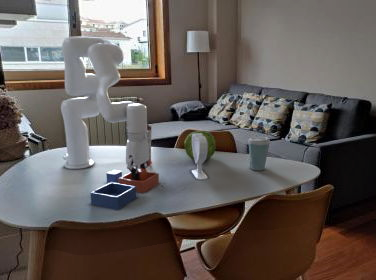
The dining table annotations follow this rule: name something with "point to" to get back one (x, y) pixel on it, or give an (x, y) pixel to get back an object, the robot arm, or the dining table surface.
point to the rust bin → (141, 185)
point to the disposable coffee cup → (258, 152)
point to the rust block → (142, 174)
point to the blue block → (113, 176)
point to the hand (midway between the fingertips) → (139, 179)
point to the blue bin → (113, 195)
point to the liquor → (149, 143)
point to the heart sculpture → (199, 154)
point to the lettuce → (209, 140)
